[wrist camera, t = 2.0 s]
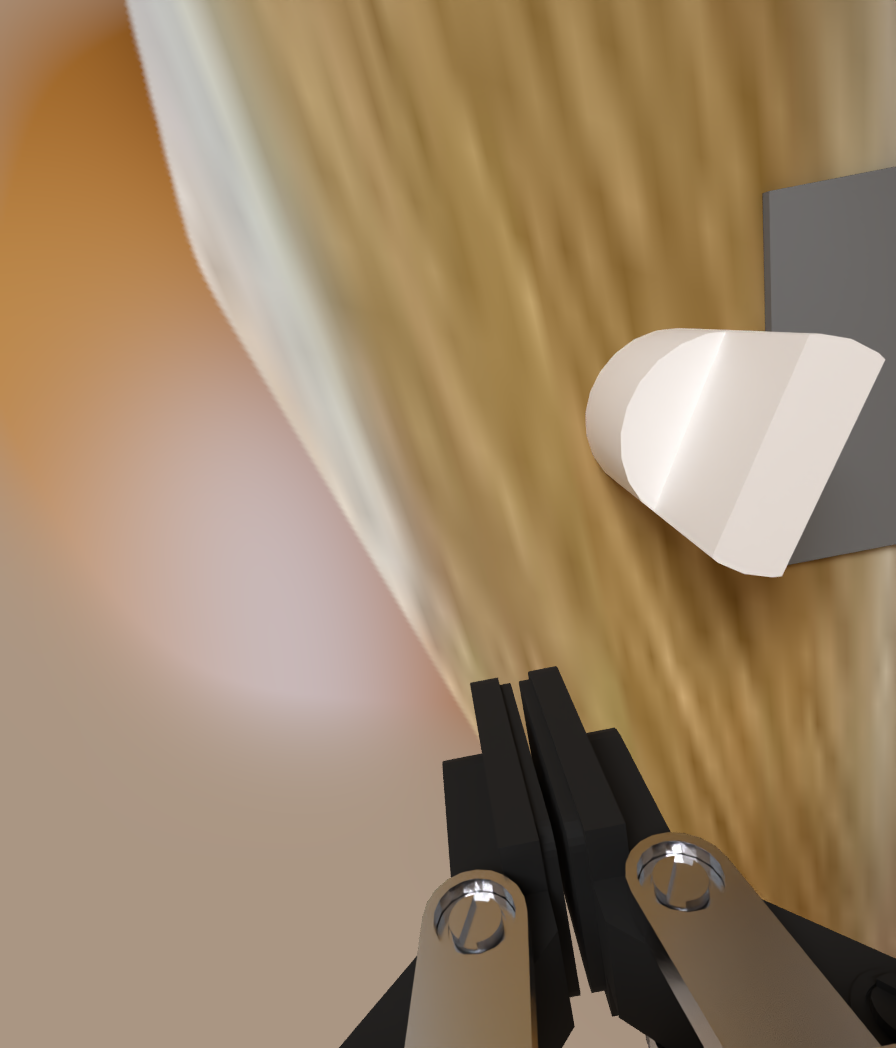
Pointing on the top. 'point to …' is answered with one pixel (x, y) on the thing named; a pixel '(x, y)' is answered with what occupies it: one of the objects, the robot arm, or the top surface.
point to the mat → (844, 311)
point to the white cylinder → (730, 432)
